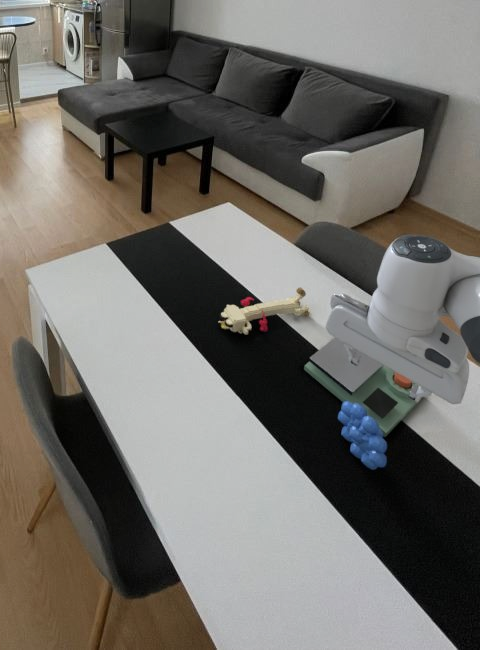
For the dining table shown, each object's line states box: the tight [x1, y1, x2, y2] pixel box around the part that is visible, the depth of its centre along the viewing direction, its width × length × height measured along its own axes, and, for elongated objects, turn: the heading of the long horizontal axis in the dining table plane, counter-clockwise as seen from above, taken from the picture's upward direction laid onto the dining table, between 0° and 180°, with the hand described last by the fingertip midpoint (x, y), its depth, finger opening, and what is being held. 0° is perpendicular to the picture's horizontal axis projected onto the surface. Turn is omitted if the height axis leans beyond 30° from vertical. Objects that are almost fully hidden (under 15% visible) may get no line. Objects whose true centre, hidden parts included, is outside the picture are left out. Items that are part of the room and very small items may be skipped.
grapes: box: [337, 401, 388, 471], centre depth 83 cm, size 12×7×12 cm, turn 3°
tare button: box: [394, 372, 412, 389], centre depth 95 cm, size 3×3×2 cm
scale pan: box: [308, 337, 398, 419], centre depth 97 cm, size 16×14×1 cm
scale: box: [303, 361, 424, 438], centre depth 98 cm, size 18×16×3 cm
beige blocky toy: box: [217, 287, 310, 336], centre depth 115 cm, size 10×9×25 cm
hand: (382, 378), depth 77 cm, fingers open, 8 cm apart
